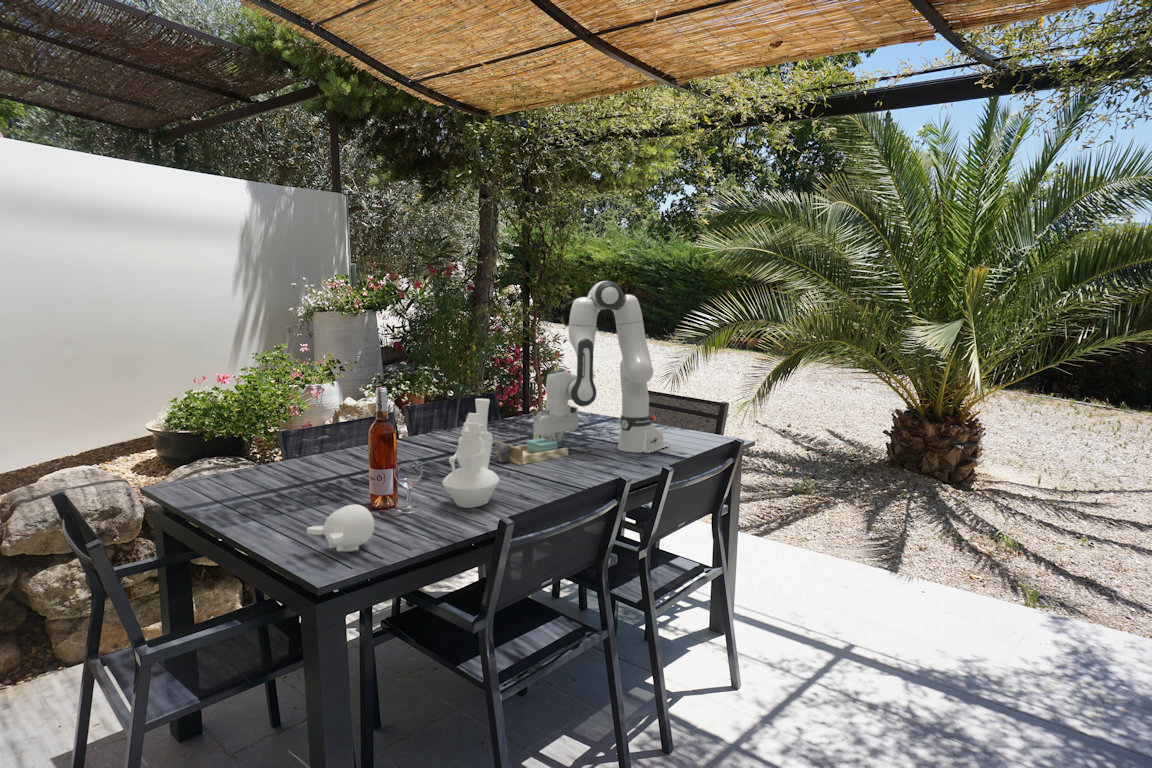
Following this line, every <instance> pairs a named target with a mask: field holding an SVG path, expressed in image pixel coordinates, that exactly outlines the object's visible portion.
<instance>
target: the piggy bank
mask: <svg viewBox="0 0 1152 768" xmlns="http://www.w3.org/2000/svg"><path fill="white" fill-rule="evenodd" d="M374 531H375V521H374V517H373V515H372V512H370V510H369V509H368V508H367V507H366V506H364V505H361V504H348V505H345V506H342V507H341V508H338V509H336V510H335V511H333V512H332V513H331V514H330V515H329V516H328V517H327V518H326V519H325V522H324V525H313V526H309V527H307V528H306V534H309V535H313V536H319V535H320V536H321V535H324V537H325V539H326V541H327V542H328V548H329V549H334V548H336V552H355V550H356V551H358V550H359V549H360V545H363V544H365V543H366V542H367V541H369V540H370V538H371V537H372V535H373V534H374Z"/></svg>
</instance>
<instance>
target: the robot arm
mask: <svg viewBox="0 0 1152 768" xmlns="http://www.w3.org/2000/svg"><path fill="white" fill-rule="evenodd" d="M602 310H611V311H612V312H613V315H614V318H615V319H614V320H615V327H616V335H617V340H618V345H619V348H620V352H621V356H622V359H621V361H620V364H619V371H620V373H619V375H620V387H621V388H620V389H621V415H620V433H619V434H620V435H619V440H618V444H617V449H618V450H619V451H622V452H627V453H642V452H644V453H647V454H651V452H652V453H655V452H658V451H661V450H663V449H662V448H664V449H666V448H665V447H667V448H669V447H670V444H669V443H666V442H665V441H664V435H663V432H662V431H661V430H660V429H658V427H656V426H655V425H654V424H653V423H652V421H654V422H656V420H657V416H656V415H649V412H650V410H649V409H650V395H649V389H648V383H649V381H650V380H652V378H653V375H654V368H653V365H652V359H651V355H650V351H649V347H648V346H649V345H648V343H647V339H646V332H645V325H644V320H643V314H642V309H641V306H640V302H639V300H638V298H637V297H636V296H635V295H633V294H625V293H624V292H623V290H622V289H621V288H620V286H619V285H618V284H617V283H615V282H613V281H609V280H602V281H598V282H596V283H594V284H593V285H592V286H591V287H590V288H589V291H588V292H587V294H586V295H585V296H580V297H578V298H577V297H576V298H575V299H574V300H573V302H572V305H571V308H570V313H569V321H568V338H569V339H568V340H569V342H570V343H571V346H572V348H573V350H574V351H575V354H576V375H575V374H572V373H571V372H569V371H567V370H566V369H563V368H562V369H561V368H560V369H554V370H551V371H549V373H548V374H547V377H546V381H545V382H546V383H545V393H546V401H545V410H546V411H544V412H539V413H538V414H539V415H538V414H537V415H536V421H535V433H536V434H537V435H546V434H550V436H551V437H552V439H553V441H554V442H557V443H558V444H560V443H562V440H561V439H562V438H563V436H564V432H570V431H575V430H577V429H578V428H579V415H578V410H579V409H578V407H576V406H573V405H570V404H568V402H569V400H570V401H573V403H574V404H576V405H577V406H579V407H587V406H590V405H591V404H593V402H594V401H595V399H596V398H597V388H596V385H595V383H594V351H595V350H594V349H595V342H596V341H595V340H596V335H597V333H596V332H597V320H598V314H599V313H600V311H602ZM556 433H557V438H556V437H555V435H556ZM668 446H669V447H668ZM660 449H661V450H660ZM657 450H658V451H657ZM654 451H655V452H654Z"/></svg>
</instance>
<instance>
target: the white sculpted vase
mask: <svg viewBox="0 0 1152 768" xmlns="http://www.w3.org/2000/svg"><path fill="white" fill-rule="evenodd" d="M474 400H475V401H474V402H475V403H474V404H475V413H474V412H467V413H468V414H467V416H466V419H465V422H463V424H462V425H463V426H462V429H461V430H460V434H461V436H460V437H459V438H458V441H457V443H458V444H457V449H456V451H455V453H454V455H453V456H450V457H449V458H448V462H449V464H450V466H451V470H452V471H451V472H450V473H449V474H447V476H446V477H444V479H443V480H442V482H441V484H442V485H443V487H444V488H445V490H446V492H448V494H449V496H450V497H451V498H452V500H453V502H454V503H455V505H456V507H457V506H458V507H460V508H466V509H468V508H469V509H471V508H477V507H482V506H485V505H486V504H488V503H489V501H490V498H491V497H492V494H493V493H494V492H495V491H494V490H496V487H497V486H498V484H499V483H500V477H499V476H498V475H497V473H495V472H494V471H493V470H490V469H489V466H490V465H489V464H490V459H491V454H492V447H493V438H494V437H493V434H492V433H491V432H490V431H488V430H487V429H488V418H489V417H488V416H489V415H488V414H489V407H490V406H489V405H490V403H491V400H490V399H489V398H482V397H481V398H475V399H474ZM456 461H457V464H459V467H458V468H456V465H455V462H456Z"/></svg>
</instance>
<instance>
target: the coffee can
mask: <svg viewBox="0 0 1152 768" xmlns="http://www.w3.org/2000/svg"><path fill="white" fill-rule="evenodd" d="M544 411H546V409H537V410H534V411H532V415H533V416H532V419H533V422H532V423H533V424H532V425H533V426H532V427H533V430H532V432H533V440H535V439H541V438H544V439H547V440H551V441H553V439H552V437H551V436H550V434H546V435H537V434H536V433H535V421H536V415H537V414H538V413H539V412H544ZM538 415H539V414H538ZM557 436H558V434H557V433H556V435H555V437H556V438H557Z"/></svg>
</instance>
